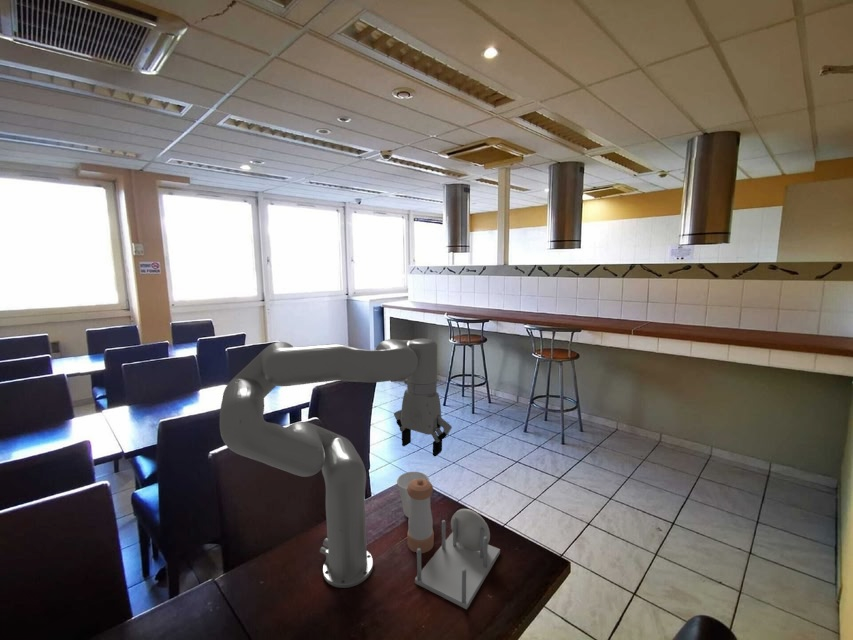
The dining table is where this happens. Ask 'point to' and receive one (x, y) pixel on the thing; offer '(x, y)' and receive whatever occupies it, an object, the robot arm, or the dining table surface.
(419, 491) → the salt shaker
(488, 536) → the dish rack
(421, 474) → the cup
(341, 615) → the dining table surface
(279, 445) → the robot arm
